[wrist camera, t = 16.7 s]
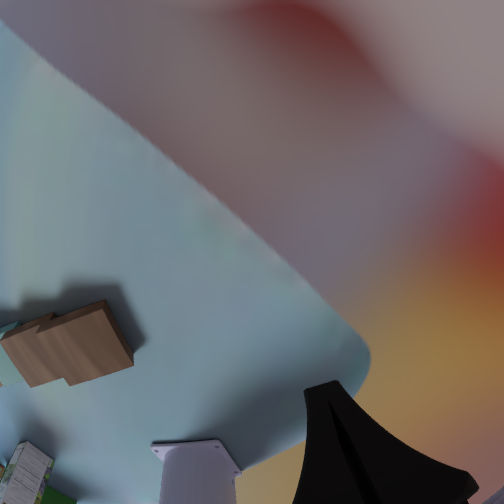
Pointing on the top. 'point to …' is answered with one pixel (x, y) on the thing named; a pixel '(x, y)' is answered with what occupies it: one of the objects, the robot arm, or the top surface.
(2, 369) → the teal tile
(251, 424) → the top surface
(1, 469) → the cracker box
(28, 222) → the top surface
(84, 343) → the tile
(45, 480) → the syrup box
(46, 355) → the tile
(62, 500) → the hardback book
